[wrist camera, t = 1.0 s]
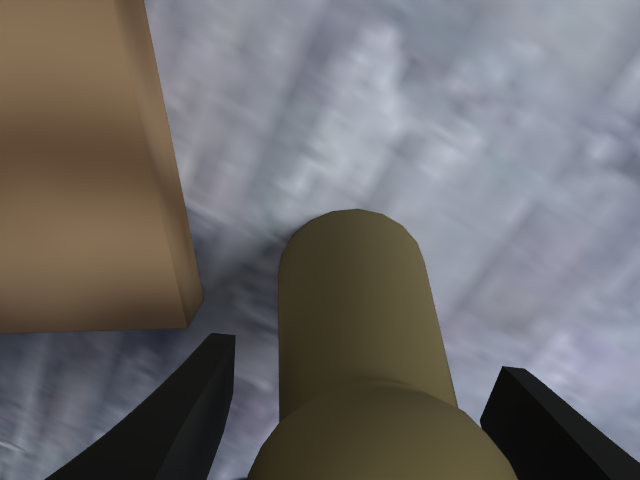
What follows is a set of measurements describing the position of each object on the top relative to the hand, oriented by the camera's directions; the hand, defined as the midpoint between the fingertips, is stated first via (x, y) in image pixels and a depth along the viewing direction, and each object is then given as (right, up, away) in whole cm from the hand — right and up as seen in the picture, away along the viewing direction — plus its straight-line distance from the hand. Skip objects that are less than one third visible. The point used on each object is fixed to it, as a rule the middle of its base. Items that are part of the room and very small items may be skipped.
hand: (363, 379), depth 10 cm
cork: (0, +2, +5) cm, 6 cm away
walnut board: (-12, +7, +4) cm, 15 cm away
